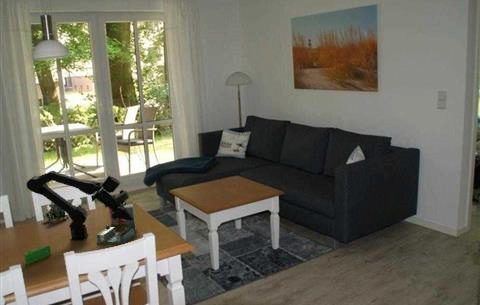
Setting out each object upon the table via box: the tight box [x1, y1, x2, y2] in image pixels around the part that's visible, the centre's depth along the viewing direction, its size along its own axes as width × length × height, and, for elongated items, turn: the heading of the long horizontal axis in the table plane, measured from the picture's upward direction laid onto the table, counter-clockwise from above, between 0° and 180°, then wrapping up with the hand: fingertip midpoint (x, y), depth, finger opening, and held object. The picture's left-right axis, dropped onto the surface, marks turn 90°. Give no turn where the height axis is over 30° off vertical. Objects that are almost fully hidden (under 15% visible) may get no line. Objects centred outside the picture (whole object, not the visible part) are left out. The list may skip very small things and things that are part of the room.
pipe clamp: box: [23, 244, 52, 265], centre depth 186 cm, size 11×4×5 cm, turn 145°
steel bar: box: [124, 203, 137, 233], centre depth 211 cm, size 4×5×13 cm
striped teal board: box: [96, 224, 136, 245], centre depth 203 cm, size 14×11×6 cm
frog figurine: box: [42, 201, 70, 223], centre depth 236 cm, size 18×18×12 cm
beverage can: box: [108, 202, 125, 226], centre depth 224 cm, size 8×8×12 cm
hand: (132, 218), depth 211 cm, fingers closed on steel bar, 5 cm apart
